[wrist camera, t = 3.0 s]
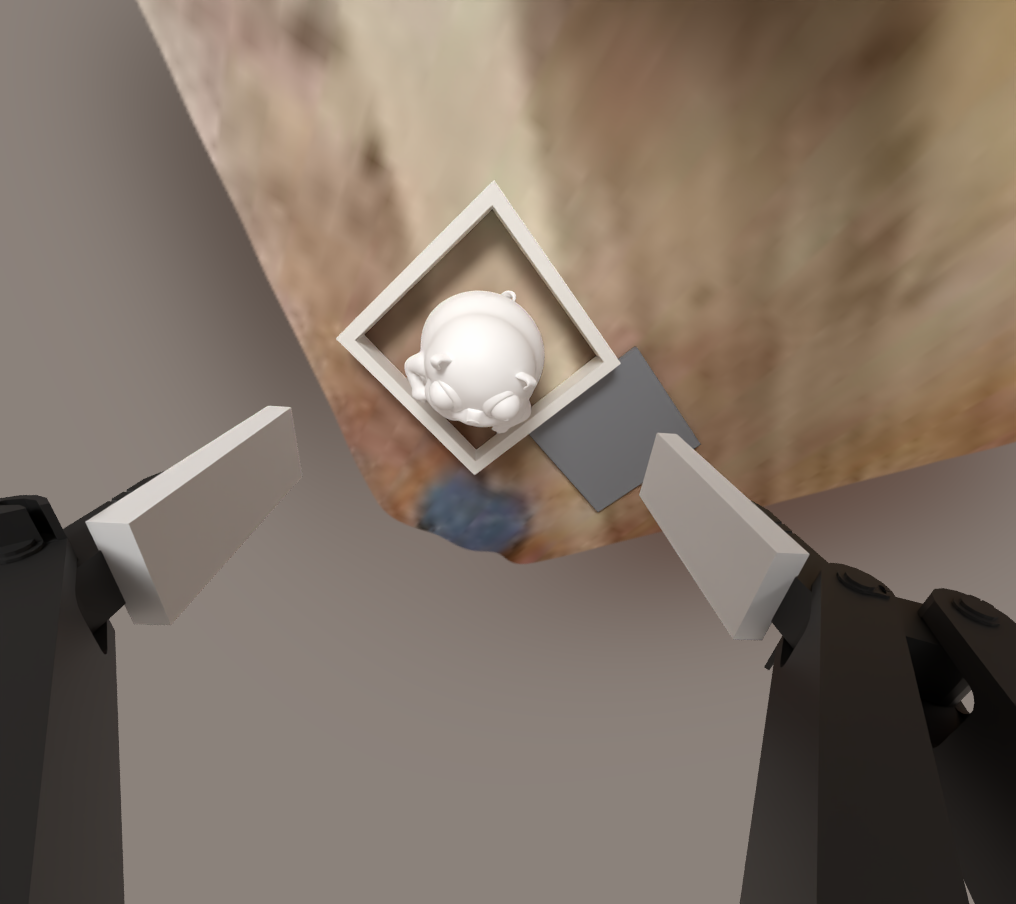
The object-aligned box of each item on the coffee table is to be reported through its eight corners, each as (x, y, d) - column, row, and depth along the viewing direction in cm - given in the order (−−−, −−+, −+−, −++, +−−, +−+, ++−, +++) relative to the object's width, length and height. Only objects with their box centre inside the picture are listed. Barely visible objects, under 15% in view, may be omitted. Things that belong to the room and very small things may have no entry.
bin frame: (346, 333, 32) (335, 338, 29) (493, 186, 28) (493, 179, 25) (475, 462, 38) (474, 475, 35) (612, 356, 34) (621, 363, 31)
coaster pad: (526, 429, 36) (527, 431, 36) (634, 346, 33) (637, 347, 33) (596, 508, 41) (597, 512, 40) (697, 441, 38) (700, 444, 37)
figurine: (449, 259, 30) (426, 257, 19) (560, 313, 32) (596, 339, 21) (409, 375, 34) (371, 427, 23) (511, 416, 36) (520, 482, 25)
